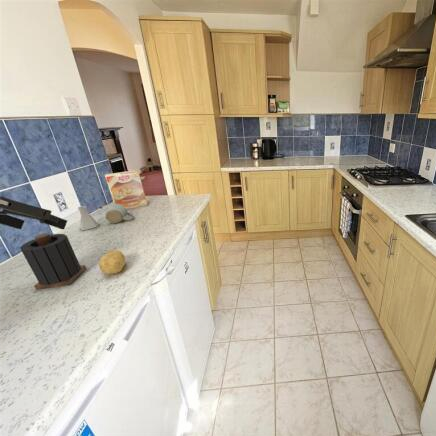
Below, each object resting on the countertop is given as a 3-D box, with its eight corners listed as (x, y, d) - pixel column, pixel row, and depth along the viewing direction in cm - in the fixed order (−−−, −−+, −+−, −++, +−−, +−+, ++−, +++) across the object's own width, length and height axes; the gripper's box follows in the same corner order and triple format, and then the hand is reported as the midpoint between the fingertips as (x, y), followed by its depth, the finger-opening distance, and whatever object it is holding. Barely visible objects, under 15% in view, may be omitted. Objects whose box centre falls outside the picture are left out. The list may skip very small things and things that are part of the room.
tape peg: (36, 289, 73) (10, 244, 66) (56, 272, 81) (35, 230, 75) (70, 285, 74) (48, 240, 68) (86, 268, 82) (68, 227, 76)
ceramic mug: (107, 225, 115) (102, 210, 112) (112, 218, 122) (107, 204, 119) (132, 221, 118) (128, 207, 115) (136, 215, 125) (132, 201, 122)
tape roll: (29, 284, 73) (10, 250, 68) (60, 265, 82) (45, 233, 77) (60, 285, 72) (43, 250, 67) (88, 265, 81) (74, 233, 76)
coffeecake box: (117, 211, 131) (105, 176, 124) (115, 208, 136) (103, 174, 128) (148, 204, 141) (138, 171, 133) (144, 202, 145) (135, 169, 138)
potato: (98, 282, 75) (91, 265, 73) (108, 263, 85) (102, 248, 82) (123, 276, 77) (117, 260, 75) (130, 259, 87) (125, 243, 84)
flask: (98, 222, 118) (91, 203, 115) (99, 227, 113) (92, 207, 109) (80, 226, 114) (71, 207, 110) (80, 231, 109) (71, 211, 105)
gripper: (-120, 207, 51) (-2, 236, 71) (-12, 207, 50) (78, 237, 70) (-99, 176, 54) (9, 213, 74) (5, 175, 53) (87, 213, 72)
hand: (43, 224), depth 72 cm, fingers open, 13 cm apart
